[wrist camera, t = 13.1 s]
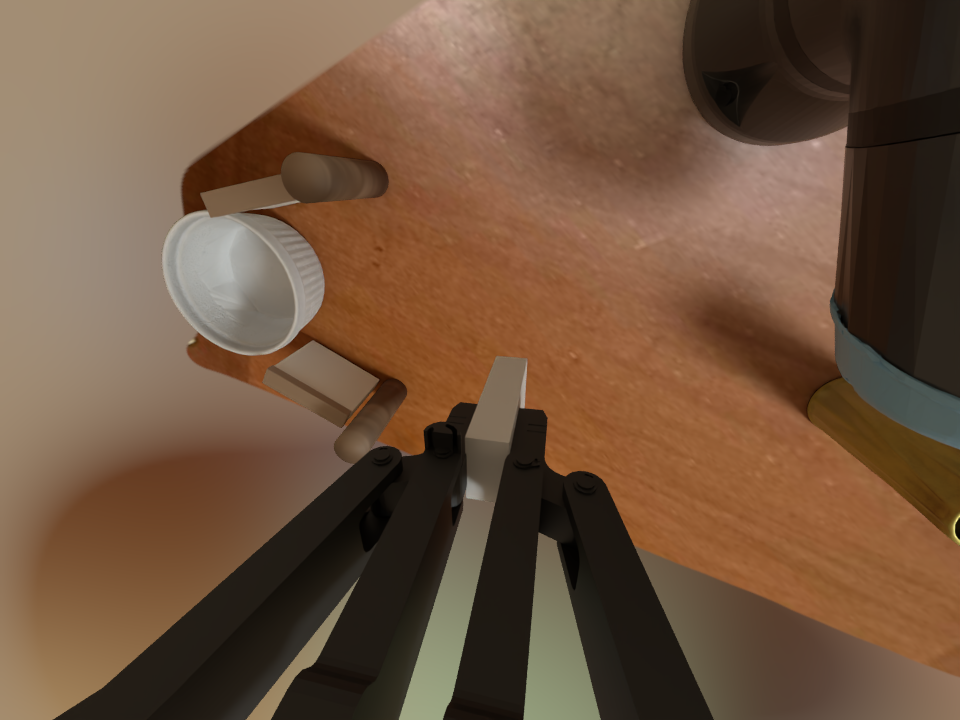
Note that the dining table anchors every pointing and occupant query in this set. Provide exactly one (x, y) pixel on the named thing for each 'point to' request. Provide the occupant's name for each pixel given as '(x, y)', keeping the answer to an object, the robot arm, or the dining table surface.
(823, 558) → the dining table surface
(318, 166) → the gate posts
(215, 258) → the ramekin
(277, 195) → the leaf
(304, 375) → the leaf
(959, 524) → the vase
